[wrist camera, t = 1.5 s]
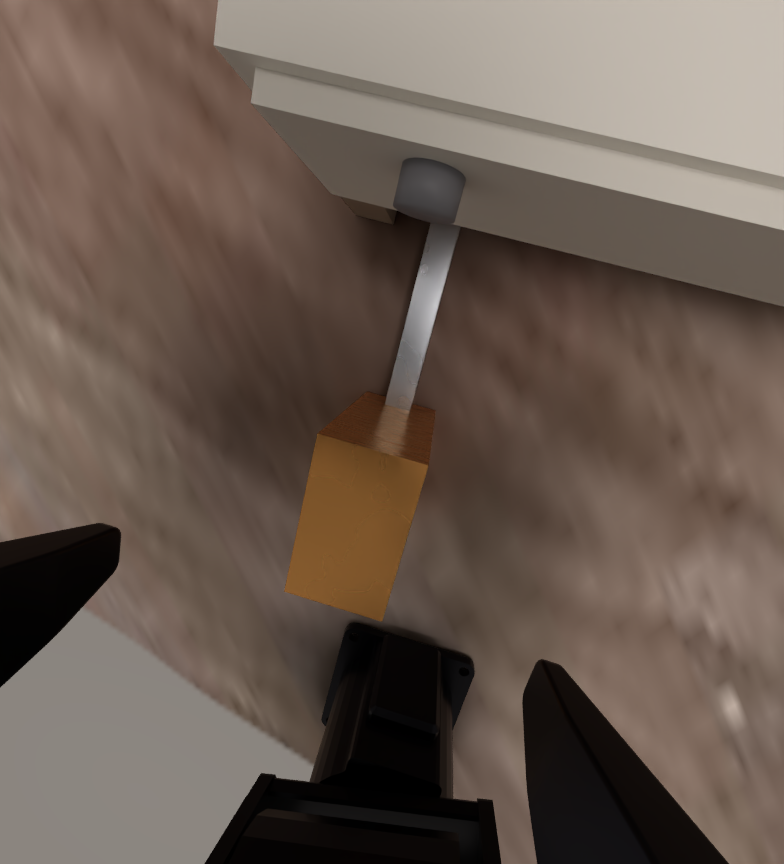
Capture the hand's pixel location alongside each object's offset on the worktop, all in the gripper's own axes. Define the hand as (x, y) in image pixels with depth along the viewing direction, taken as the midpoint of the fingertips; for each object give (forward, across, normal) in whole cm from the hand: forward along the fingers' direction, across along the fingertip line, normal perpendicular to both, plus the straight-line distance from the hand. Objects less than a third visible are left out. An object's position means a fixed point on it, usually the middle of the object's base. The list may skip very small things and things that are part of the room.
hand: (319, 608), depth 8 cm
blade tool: (+10, 0, -8) cm, 13 cm away
